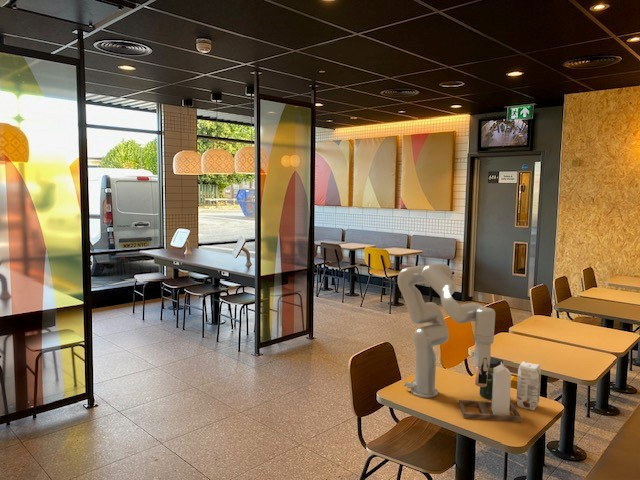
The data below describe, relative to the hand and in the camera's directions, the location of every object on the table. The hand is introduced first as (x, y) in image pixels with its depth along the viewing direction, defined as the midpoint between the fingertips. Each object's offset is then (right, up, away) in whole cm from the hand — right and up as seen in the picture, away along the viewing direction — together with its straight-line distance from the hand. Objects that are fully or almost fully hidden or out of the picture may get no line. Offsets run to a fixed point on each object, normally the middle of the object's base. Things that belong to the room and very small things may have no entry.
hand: (481, 380), depth 197 cm
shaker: (0, -2, 0) cm, 2 cm away
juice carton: (+25, -16, +14) cm, 33 cm away
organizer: (+6, -16, +8) cm, 19 cm away
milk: (+10, -16, +7) cm, 21 cm away
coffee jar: (+12, -15, +24) cm, 31 cm away
